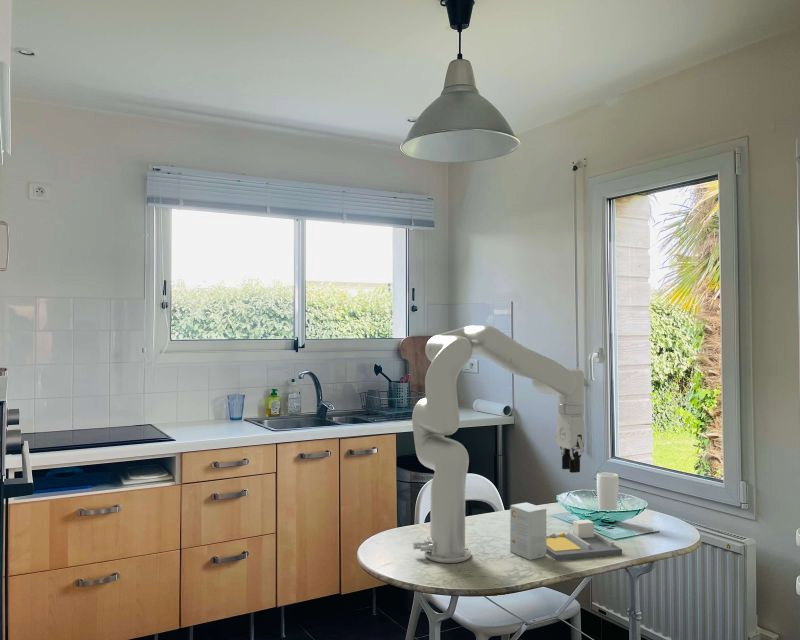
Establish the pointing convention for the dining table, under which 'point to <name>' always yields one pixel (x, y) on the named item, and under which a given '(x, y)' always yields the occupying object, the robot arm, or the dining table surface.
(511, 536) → the small box
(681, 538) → the dining table surface
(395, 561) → the dining table surface
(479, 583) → the dining table surface
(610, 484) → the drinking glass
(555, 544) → the plate
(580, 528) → the lever
